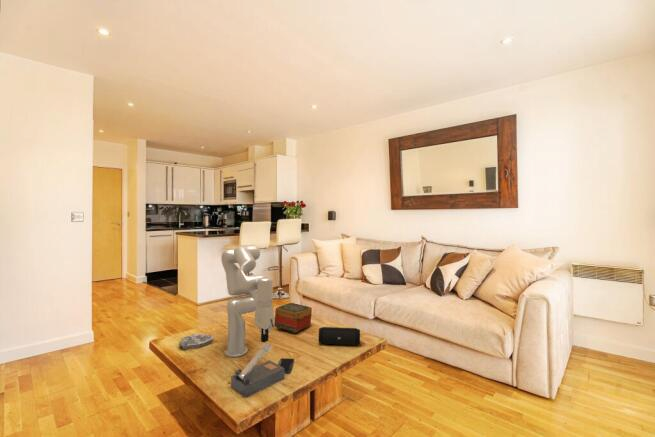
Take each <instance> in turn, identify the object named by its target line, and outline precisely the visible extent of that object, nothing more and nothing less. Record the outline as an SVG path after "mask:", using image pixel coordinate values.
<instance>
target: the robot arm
mask: <svg viewBox="0 0 655 437" xmlns="http://www.w3.org/2000/svg"><path fill="white" fill-rule="evenodd" d="M260 257H261V251H260V247H259V246H257V245H255V244H250V245H249V244H247V245H239V246H236V247H235V248H231V249H230V248H229V249H226V250H224V251H223V252H222V253H221V260H220V261H221V264H222V267H223V269H224V272H225V279H226V289H227V293H228V295H229V296H232V297H233V296H239V297H234V298H231V299H229V300H228V301H227V303H226V311H227V312H226V313H227V323H228V324H227V325H228V326H227V343H226V346H227V348H226V350H225V351H224V354H225V356H226V357H228V358H229V357H230V358H238V357H242V356H244V355H246V354H247V353H248V351H249V350H248V349H249V348H248V347H246V320H245V318H244V317H243V316H242V315H243V314H249V313H254V325H255V327H257V328H259V332H260V342H261V343H262V344H264V343H266V342H268V341H269V333H270V332H273V328H274V327H275V326H274V324H275V312H274V311H275V310H274V307H273V306H274V304H273V303H274V301H273V299H274V298H273V297H274V290H273V289H274V285H273V284H274V280H273V278H272V277H270V276H268V274H263V273H262V274H252V275H247V274H248V273H251V272H252V271H254V269H255V268H256V267H257V262H256V260H258V259H259V258H260ZM236 264H238V265H239V267H238V266H237V265H236ZM241 295H246V296H241Z"/></svg>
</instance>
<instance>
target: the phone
mask: <svg viewBox="0 0 655 437" xmlns="http://www.w3.org/2000/svg"><path fill="white" fill-rule="evenodd" d="M294 363H295V358H285V357H284V358H280V359H279V362H278V365H280V366H281V367H283V368H285V375H290V374H291V373H292V370H293V366H294Z"/></svg>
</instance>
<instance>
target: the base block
mask: <svg viewBox="0 0 655 437" xmlns="http://www.w3.org/2000/svg"><path fill="white" fill-rule="evenodd" d="M278 364H279V363H278ZM278 364H277V363H275V362H274V361H272V360H270V359H269V360H267V361H265V362H262V363H260V364H258V365H257V364H256V365H255V366H254V367H253V369H252V370H251V371H250V372H249V374H247V375H245V376H243V380H242V379H241V378H239V377H238V376H237V374H238V373H239V372H242V369H241V368H238V369H236V370H235V371H234V375H232V376H230V387H231V388H232V389H233V390H235V391H236V393H238V394H240V395H242V396H243V397H244V398H248V397H250V396H252V395H254V394H256V393H258V392H260V391H262V390H264V389H267V388H268V387H270V386H272V385H274V384H276V383H278V382H280V381H282V380H284V379H285V377H286V376H285V375H286V374H285V368H283V367H281V366H280V365H278Z"/></svg>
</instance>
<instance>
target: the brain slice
mask: <svg viewBox="0 0 655 437" xmlns="http://www.w3.org/2000/svg"><path fill="white" fill-rule="evenodd" d="M213 340H214V336H213V335H212V334H207V333H206V334H205V333H195V334H191V335H187V336H184V337H183V338H181V339H180V341H179V342H178V345H179V346H180V347H181V348H182V349H183V350H194V349H198V348H203V347H205V346H208V345H209V344H211V343H212V342H213Z"/></svg>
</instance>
